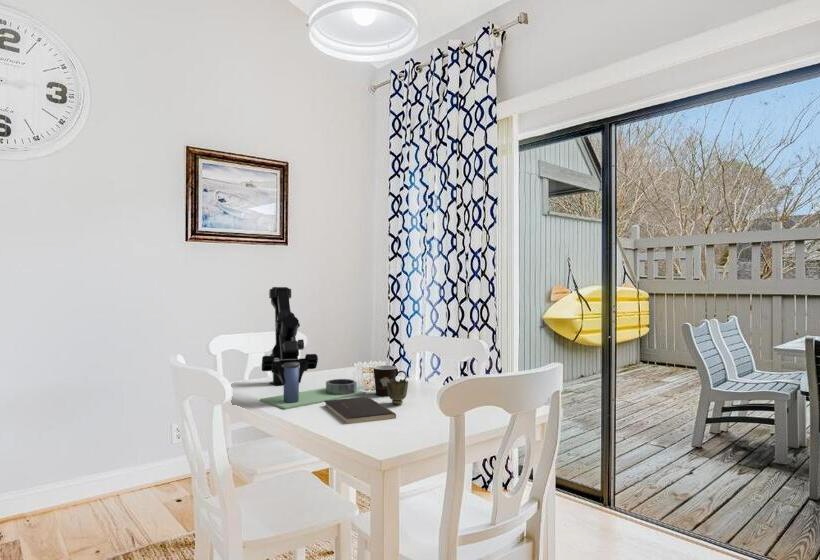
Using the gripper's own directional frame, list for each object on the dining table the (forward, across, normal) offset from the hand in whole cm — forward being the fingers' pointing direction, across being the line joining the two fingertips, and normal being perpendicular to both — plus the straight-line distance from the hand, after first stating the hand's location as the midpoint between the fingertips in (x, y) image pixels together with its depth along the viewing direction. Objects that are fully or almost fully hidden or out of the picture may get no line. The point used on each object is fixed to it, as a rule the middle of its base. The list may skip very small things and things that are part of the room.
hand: (291, 382), depth 176 cm
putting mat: (0, +9, +11) cm, 14 cm away
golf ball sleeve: (+4, 0, +6) cm, 7 cm away
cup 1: (-4, +20, +13) cm, 24 cm away
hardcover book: (+17, +19, -6) cm, 26 cm away
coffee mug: (+3, +35, +8) cm, 36 cm away
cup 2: (+12, +34, -2) cm, 36 cm away
